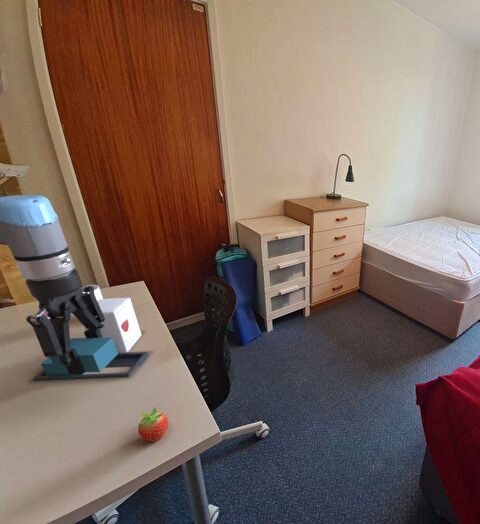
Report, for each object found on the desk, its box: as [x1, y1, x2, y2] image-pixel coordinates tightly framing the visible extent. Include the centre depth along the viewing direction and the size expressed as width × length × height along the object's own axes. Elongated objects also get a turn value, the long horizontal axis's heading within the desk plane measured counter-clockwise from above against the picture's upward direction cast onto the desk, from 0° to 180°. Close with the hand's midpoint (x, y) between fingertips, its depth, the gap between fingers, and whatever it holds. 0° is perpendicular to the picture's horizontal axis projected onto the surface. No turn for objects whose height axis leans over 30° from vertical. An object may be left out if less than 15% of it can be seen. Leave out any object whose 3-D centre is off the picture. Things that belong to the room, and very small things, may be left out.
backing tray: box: [32, 351, 149, 382], centre depth 80 cm, size 24×9×2 cm, turn 95°
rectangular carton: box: [84, 297, 142, 353], centre depth 87 cm, size 9×9×15 cm
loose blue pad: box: [50, 337, 118, 374], centre depth 65 cm, size 9×6×5 cm, turn 94°
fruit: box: [136, 406, 169, 442], centre depth 61 cm, size 5×5×8 cm
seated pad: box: [40, 357, 85, 376], centre depth 78 cm, size 9×6×5 cm, turn 95°
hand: (89, 362), depth 66 cm, fingers closed on loose blue pad, 6 cm apart
